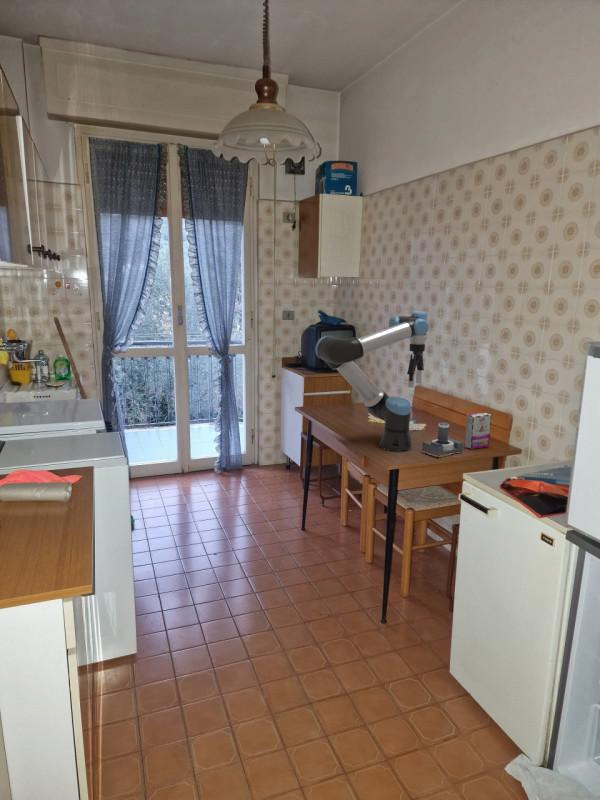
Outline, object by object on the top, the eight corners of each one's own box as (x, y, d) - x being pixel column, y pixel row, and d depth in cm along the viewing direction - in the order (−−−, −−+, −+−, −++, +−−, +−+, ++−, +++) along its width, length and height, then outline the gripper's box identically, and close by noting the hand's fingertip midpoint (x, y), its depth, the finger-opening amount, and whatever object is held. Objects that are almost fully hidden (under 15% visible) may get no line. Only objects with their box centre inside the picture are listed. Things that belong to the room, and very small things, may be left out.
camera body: (437, 458, 244) (438, 445, 243) (421, 452, 252) (422, 440, 251) (462, 452, 253) (463, 440, 251) (445, 447, 261) (446, 435, 260)
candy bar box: (481, 444, 266) (484, 412, 262) (489, 447, 261) (492, 414, 258) (463, 446, 262) (466, 414, 258) (470, 449, 257) (473, 416, 253)
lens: (435, 448, 251) (437, 424, 248) (438, 445, 255) (440, 421, 253) (446, 449, 249) (448, 425, 246) (448, 446, 253) (450, 423, 250)
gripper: (417, 346, 256) (415, 390, 260) (431, 341, 277) (428, 381, 282) (402, 345, 259) (400, 388, 264) (417, 340, 281) (414, 380, 285)
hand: (414, 385), depth 273 cm, fingers open, 13 cm apart
